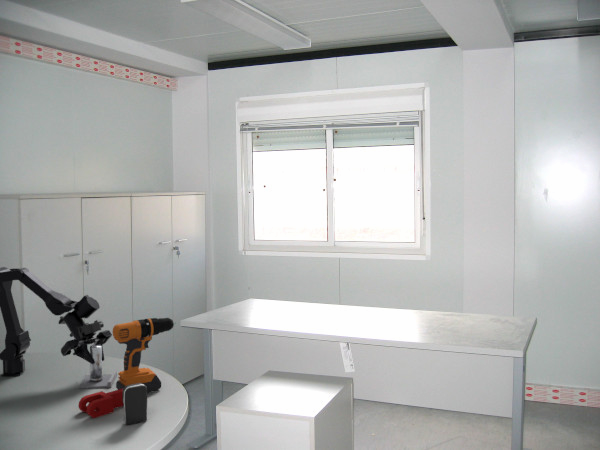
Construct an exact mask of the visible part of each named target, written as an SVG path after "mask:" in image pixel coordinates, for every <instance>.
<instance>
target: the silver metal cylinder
mask: <svg viewBox="0 0 600 450" xmlns="http://www.w3.org/2000/svg"><path fill="white" fill-rule="evenodd" d="M102 346H103V345H92V344H91V345H90V346H89V352H90V354H91V356H92V358H93V359H94V362H95V363H94V364H91V363H89V375H90V381H93V382H96V381H101V380H102V379H103V376H102V375H103V361H102Z"/></svg>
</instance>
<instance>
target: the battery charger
mask: <svg viewBox="0 0 600 450" xmlns="http://www.w3.org/2000/svg"><path fill="white" fill-rule="evenodd" d="M122 403H123V404H124V406H123V424H124V425H126V426H129V425H134V424H138V423H143V422H145V421H147V420H148V393H147V388H146V386H145V385H143V384H142V383H136V384H131V385H127V386H125V387H124V388H123V391H122Z"/></svg>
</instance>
